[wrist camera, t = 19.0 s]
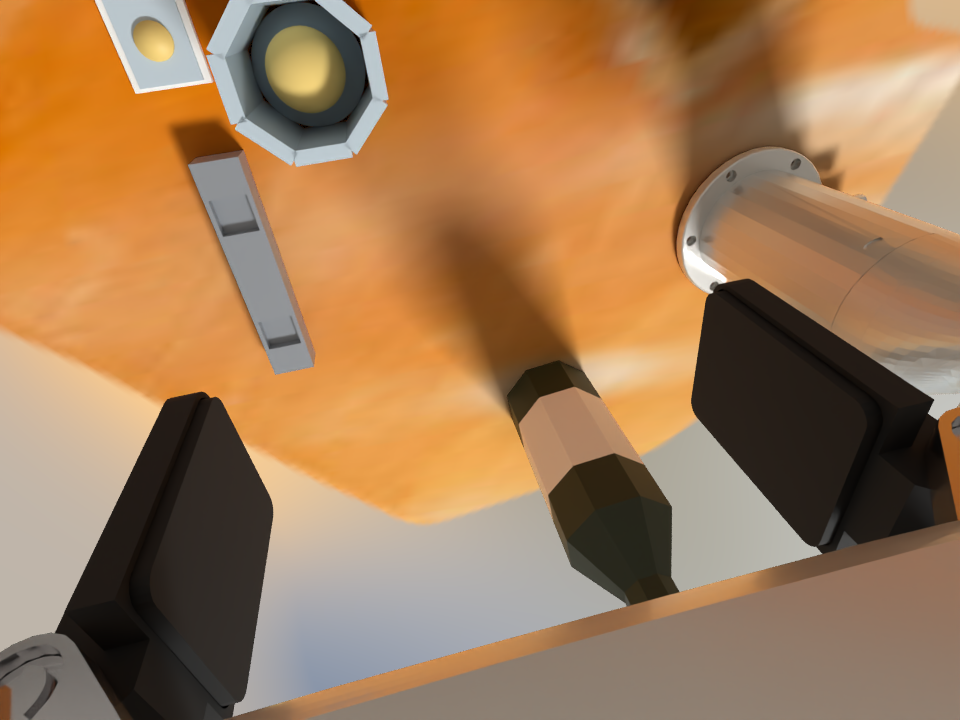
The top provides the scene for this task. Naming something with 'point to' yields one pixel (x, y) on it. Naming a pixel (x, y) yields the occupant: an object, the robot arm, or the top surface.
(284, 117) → the tube bluegrey
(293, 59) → the ball ochre
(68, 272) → the top surface
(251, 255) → the holder
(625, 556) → the wine bottle
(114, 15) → the card
